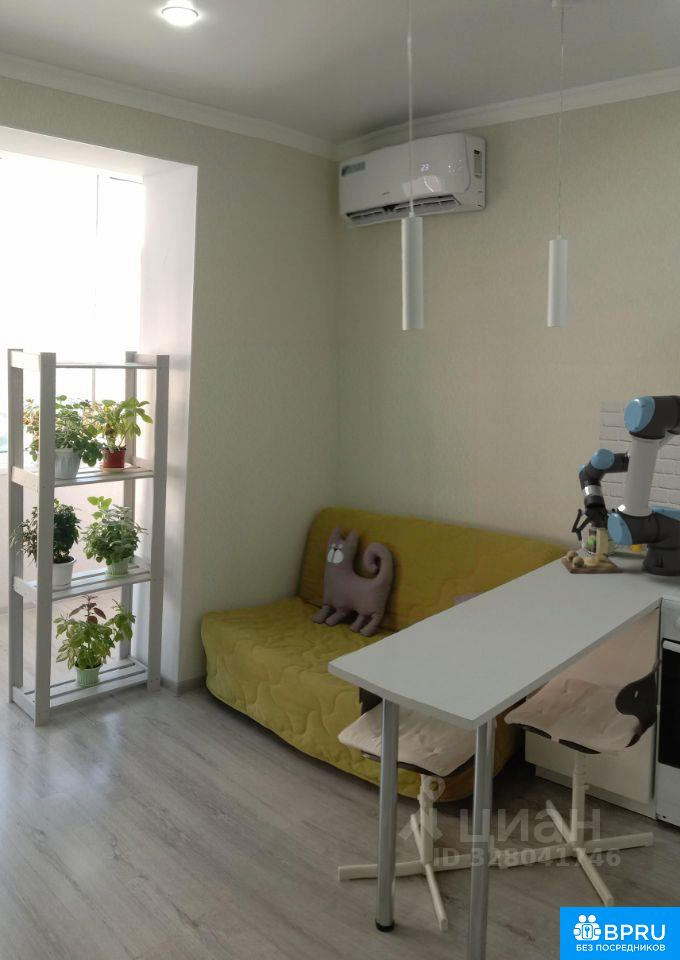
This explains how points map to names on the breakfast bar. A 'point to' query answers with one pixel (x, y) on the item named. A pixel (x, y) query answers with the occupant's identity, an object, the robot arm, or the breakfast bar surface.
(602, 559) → the beige rectangular block
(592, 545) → the coffee can
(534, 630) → the breakfast bar surface
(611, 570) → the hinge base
